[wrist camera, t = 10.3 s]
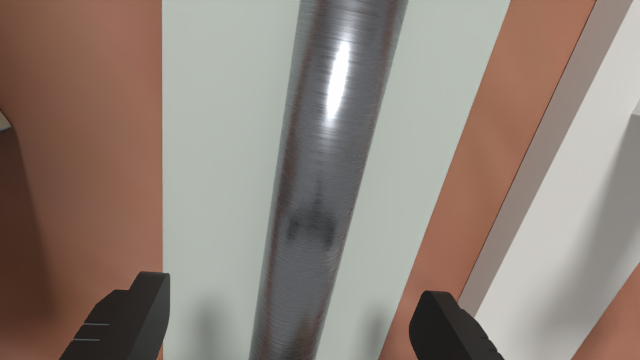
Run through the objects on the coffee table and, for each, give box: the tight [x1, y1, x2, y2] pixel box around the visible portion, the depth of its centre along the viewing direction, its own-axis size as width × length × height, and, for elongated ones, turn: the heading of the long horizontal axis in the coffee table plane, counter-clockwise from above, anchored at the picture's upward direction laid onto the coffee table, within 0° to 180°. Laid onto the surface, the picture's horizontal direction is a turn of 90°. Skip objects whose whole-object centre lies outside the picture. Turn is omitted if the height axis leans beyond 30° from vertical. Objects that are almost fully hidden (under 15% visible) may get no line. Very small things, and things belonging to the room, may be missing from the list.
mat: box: [162, 0, 511, 360], centre depth 15 cm, size 12×28×1 cm, turn 169°
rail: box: [248, 0, 409, 360], centre depth 13 cm, size 26×3×3 cm, turn 169°
